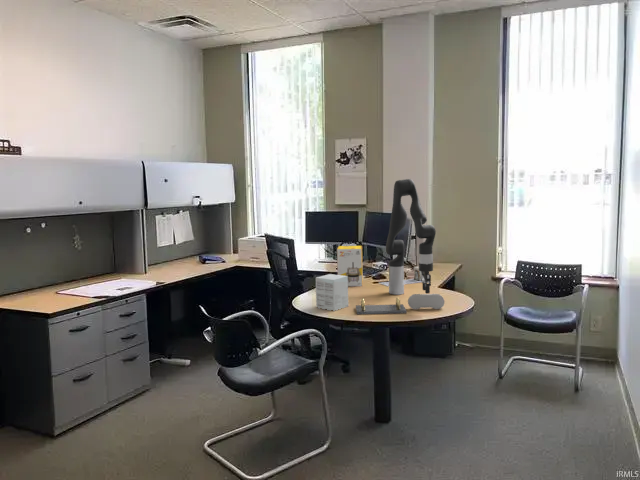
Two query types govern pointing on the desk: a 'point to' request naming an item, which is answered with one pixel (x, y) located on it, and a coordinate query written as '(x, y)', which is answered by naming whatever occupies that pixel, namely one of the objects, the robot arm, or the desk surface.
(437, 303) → the grey piece
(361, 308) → the standoff plate
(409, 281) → the monument
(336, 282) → the supplement box
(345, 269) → the packaging box
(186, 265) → the desk surface
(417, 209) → the robot arm
